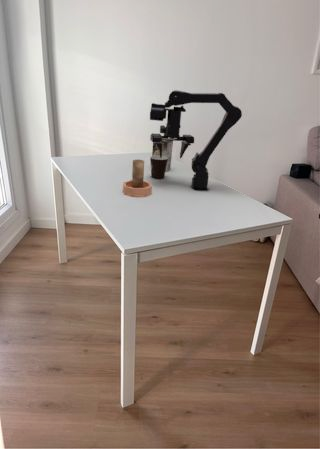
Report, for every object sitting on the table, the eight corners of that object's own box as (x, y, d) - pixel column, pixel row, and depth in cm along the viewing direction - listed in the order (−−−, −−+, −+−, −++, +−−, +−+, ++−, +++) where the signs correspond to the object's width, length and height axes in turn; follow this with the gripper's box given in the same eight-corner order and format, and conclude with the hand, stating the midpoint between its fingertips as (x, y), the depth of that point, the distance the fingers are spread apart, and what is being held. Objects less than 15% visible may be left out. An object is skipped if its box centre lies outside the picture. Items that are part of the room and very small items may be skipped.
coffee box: (150, 168, 174) (152, 138, 167) (156, 166, 179) (158, 137, 172) (164, 172, 169) (167, 141, 163) (171, 170, 174) (173, 140, 168)
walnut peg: (143, 189, 140) (145, 160, 135) (141, 193, 136) (143, 163, 130) (133, 188, 141) (134, 159, 135) (130, 191, 136) (131, 161, 131)
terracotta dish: (148, 187, 145) (149, 179, 144) (153, 197, 134) (154, 189, 133) (121, 187, 143) (121, 179, 141) (124, 197, 132) (124, 189, 130)
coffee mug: (164, 180, 156) (166, 160, 152) (147, 178, 157) (148, 158, 153) (168, 174, 166) (170, 155, 162) (152, 172, 168) (153, 153, 163)
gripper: (189, 120, 147) (185, 154, 153) (149, 118, 143) (147, 153, 149) (196, 123, 137) (192, 160, 144) (153, 122, 133) (151, 159, 140)
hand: (170, 157), depth 144 cm, fingers open, 9 cm apart
